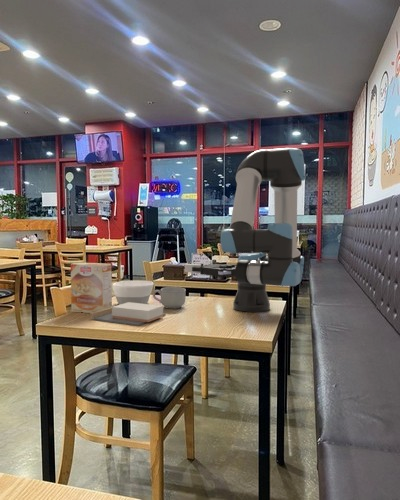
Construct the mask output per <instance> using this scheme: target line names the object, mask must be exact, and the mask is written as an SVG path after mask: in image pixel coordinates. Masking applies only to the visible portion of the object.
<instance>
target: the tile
mask: <svg viewBox="0 0 400 500" xmlns="http://www.w3.org/2000/svg"><path fill="white" fill-rule="evenodd" d="M163 314H164V305H161V304H160V305H158V304H150V303H149V304H148V303H147V304H141V303H131V302H128V303H124V304H120V305H119V304H117V305H114V306H113V305H112V318H120V319H127V320H135V321H143V322H147V323H150V322H153V321H155V320H157V319H160V318H162V317H164V316H163Z"/></svg>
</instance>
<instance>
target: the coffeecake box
mask: <svg viewBox="0 0 400 500" xmlns="http://www.w3.org/2000/svg"><path fill="white" fill-rule="evenodd" d="M112 278H113V277H112V263H104V262H103V263H101V262H100V263H98V262H73V263H71V264H70V295H71V296H70V297H71V298H70V299H71V300H70V301H71V305H70V306H71V312H72V313H81V312H83V314H91V313H93V312H96V311H100V310H103V309H107V308H110V307H113V304H112V303H113V297H112V296H113V293H112V292H113V291H112V290H113V287H112V285H113V283H112Z"/></svg>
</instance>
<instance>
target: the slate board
mask: <svg viewBox="0 0 400 500" xmlns="http://www.w3.org/2000/svg"><path fill="white" fill-rule="evenodd" d="M112 307H113V306H112ZM112 307H110V308H107V309H103V310H100V311H96V312H93V313H90V320H91V321H99V322H107V323H115V324H121V325H128V326H129V325H130V326H135V327H139V326H141V325H145V324H147V323H148V322H143V321H135V320H127V319H120V318H112ZM165 316H166V313H163V317H165Z"/></svg>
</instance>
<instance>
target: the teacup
mask: <svg viewBox="0 0 400 500" xmlns="http://www.w3.org/2000/svg"><path fill="white" fill-rule="evenodd" d="M186 291H187V290H186V288H184V287H180V286H165V287H162V288H161V289H154V291H152V297H153V299H154V300H156V301H157V302H158V303H160V304H161V306H163V307H164V308H166V309H168V310H169V309H171V310H172V309H173V310H174V309H180V308H182V307H183V306H184V305H185V303H186ZM156 293H158V294H159V296H160V298H158V297H157V295H156Z"/></svg>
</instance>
